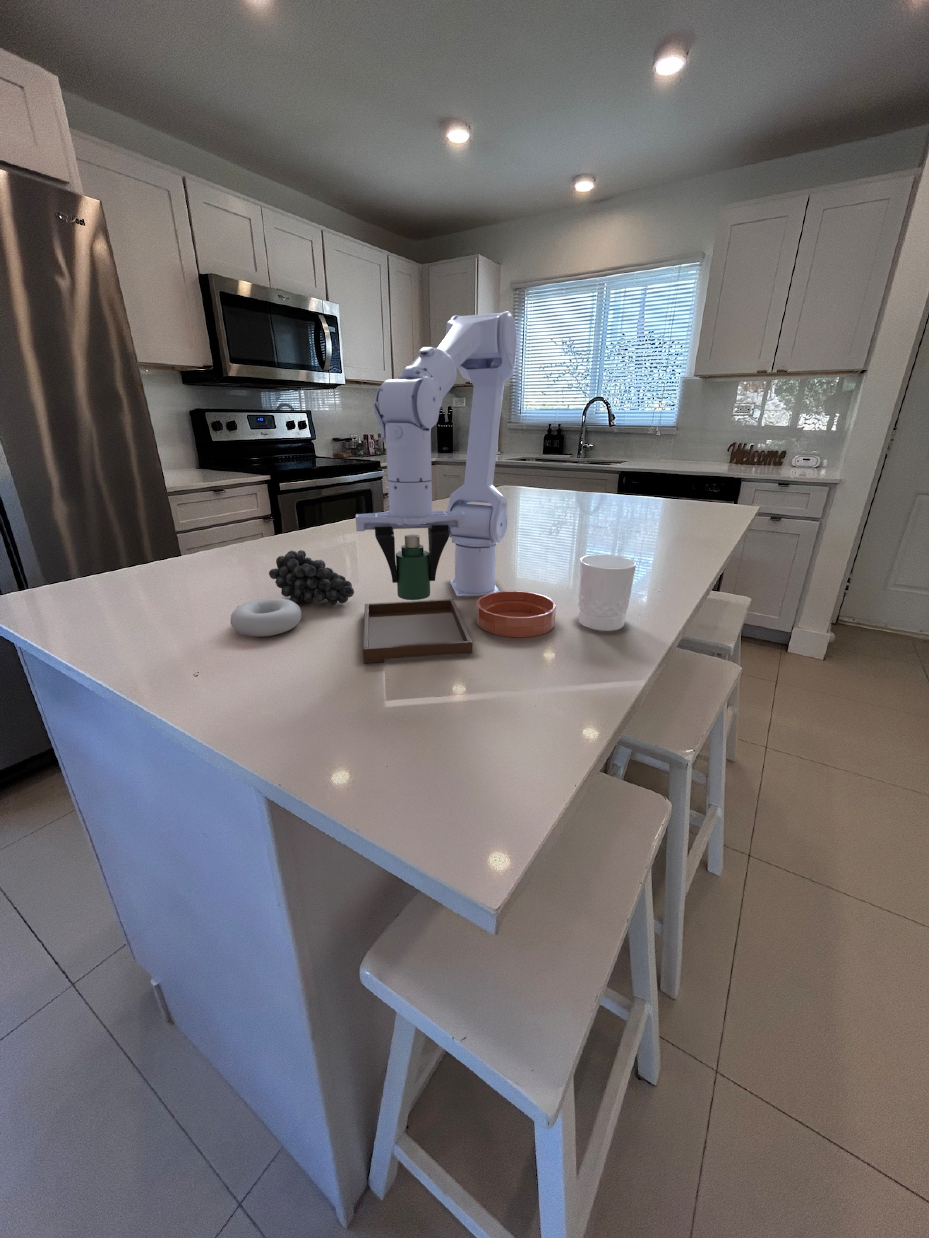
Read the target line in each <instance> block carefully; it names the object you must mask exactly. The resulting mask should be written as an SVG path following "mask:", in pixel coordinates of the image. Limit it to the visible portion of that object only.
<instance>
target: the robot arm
mask: <svg viewBox="0 0 929 1238" xmlns="http://www.w3.org/2000/svg"><path fill="white" fill-rule="evenodd" d="M518 340H519V337H518V330H517V323H516V320H515V318H514V316H513V315H512V313H511V312H510V311H508V310H506V311H502V312H497V313H484V314H471V315H459V314H458V315H455V314H454V315H453V316H451V318H450V320H447V322H446V328H445V336H444V338H443V339H442V340H441V342H440V344H438V346H437V347H432V346H423V347H422V348H420V349H419V350H418V356H417V357H415V359H414V360H413V361H412V362H411V363H410V364H409V365H408V366H407V365H406V367H404V369H403V372H402V373H401V374H399V376H398V377H397V378H393V379H392V378H391V379H389V378H388V379H386V380H385V381H383V383H381V385H379V387H378V388H377V390H376V393H375V400H374V402H373V410H374V416H375V418H376V421H377V422H378V425H379V428H380V438H381V439H382V440H381V441H382V442H383V443H385V453H386V471H387V472H386V473H387V492H388V493H387V494H388V496H387V497H388V511H382V512H380V511H379V512H372V513H371V512H369V513H356V514H355V529H356V532H365V531H373V530H374V536H375V539H376V541H377V543H378V545H379V547H380V549H381V550H382V553H383V555H384V557H385V559H386V561H387V562H386V563H387V564H388V567H389V571H390V576H391V581H392V584H397V583H398V578H397V569H396V543H395V542H396V541H395V540H396V539H395V532H394V530H407V529H408V530H409V529H410V530H411V529H427V534H428V552H429V559H430V582H435V581H436V575H437V570H438V566H439V562H440V559H441V556H442V553H443V551H444V549H445V546H446V544H447V543H448V541H449V538H450V539H451V543H452V544H454V545H455V548H454V579H450V580H449V583H450V585H451V587H452V588H453V591H454V594H455V596H456V597H474V596H475V597H476V596H484V595H487V594H489V593H494V592H500V591H501V590H500V589H499V588H498V587H497V585H496V571H497V570H496V566H497V564H496V563H497V544H499V543H501V541H502V540H503V539H504V538H505V536H506V533H507V529H508V512H507V511H508V501H507V498H506V497H505V496H504V495H503V494H502V493H501V492H500V491H499V490H498V489H497V488H496V487H495V486H494V480H495V479H494V478H495V472H496V471H495V470H496V462H497V451H498V442H499V434H500V433H499V432H500V423H501V416H502V415H501V414H502V405H503V396H504V387H505V382H506V381H507V380H509V379H510V378H512V377H513V375H514V371H515V366H516V358H517V351H518V350H517V349H518ZM457 370H458V372H459V373H460V375H461V377H462V378H463V379H465V380H467V381H469V382H471V385H472V386H473V388H472V389H473V390H472V399H471V409H470V421H469V431H468V439H467V449H466V450H467V452H466V460H465V470H464V471H465V472H464V482H463V484H462V485H460V487H458V488H457V489H456V490H454V491H453V492H451V494H450V495H449V500H448V506H447V509H446V510H433V483H432V482H433V481H432V480H433V477H432V476H433V475H432V432H431V431H432V430H431V429H432V428H434V426H436V425H437V423H438V420H439V416H440V410H441V407H442V406H443V399H444V397H446V395H447V394H448V393H449V392H450V390H451V389H452V388H453V387H454V385H455V383H456V381H457V377H458V376H457V374H458V372H457ZM474 503H479V504H474ZM487 504H490V505H487Z"/></svg>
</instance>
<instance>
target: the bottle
mask: <svg viewBox="0 0 929 1238" xmlns="http://www.w3.org/2000/svg"><path fill="white" fill-rule="evenodd" d="M400 548H401V550H400V551H397V552H395V562H396V569H397V578H398V583H396V586H397V587H396V588H397V597H398V598H400V599H401V600H407V601H421V600H424V599H425V600H426V599H427V598H429V597H430V596H431V581H430V559H429V551H427V550H424V545H422V544H421V543H420V534H416V533H408V534H405V535H404V544H403V545H401V547H400Z"/></svg>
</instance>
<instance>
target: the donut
mask: <svg viewBox="0 0 929 1238" xmlns="http://www.w3.org/2000/svg"><path fill="white" fill-rule="evenodd" d="M301 620H302V610H301V607H300V606H299V605H298V604H296V603H294V602H293V601H291V600H290V599H287V598H280V597H267V598H259V599H254V600H250V601H248V602H245V603H243V604H241V605H238V606H237V607H236V608H235V609H234V610H233V611H232V613H231V615H230V625H231V627H232V628H233V629H234V630H235V631H236V632H237V633H239V634H241V635H243V636H247V637H255V638H261V637H263V638H265V637H271V636H276V635H280V634H283V633H286V632H288V631H290V630H292V629H294V628H296V627H297V625H298V624H299V623H300V621H301Z"/></svg>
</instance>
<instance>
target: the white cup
mask: <svg viewBox="0 0 929 1238" xmlns="http://www.w3.org/2000/svg"><path fill="white" fill-rule="evenodd" d="M579 562H580V563H579V581H578V582H579V583H578V610H579V611H578V623H579V624H580V625H582V626H583V627H585V628H588V629H591V630H597V631H601V632H602V631H617V630H620V629H622V628H624V626H625V622H626V615H627V611H628V609H629V606H630V605H629V604H630V599H631V594H632V589H633V584H634V578H635V573H636V567H637V562H636V561H635V560H633V559H632V558H631V559H630V558H628V557H624V556H619V555H612V554H590V555H585V556H583V557H581V558H580V560H579Z"/></svg>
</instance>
